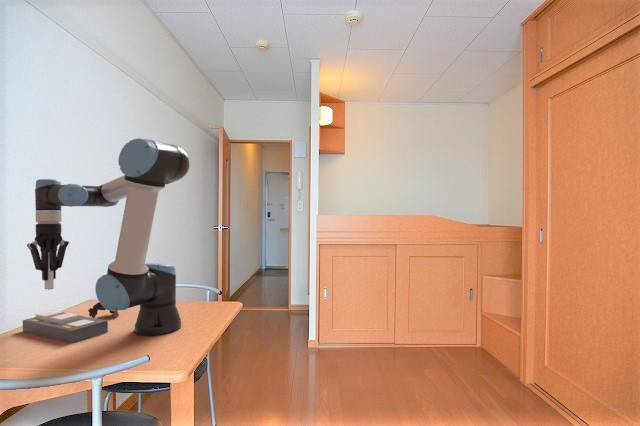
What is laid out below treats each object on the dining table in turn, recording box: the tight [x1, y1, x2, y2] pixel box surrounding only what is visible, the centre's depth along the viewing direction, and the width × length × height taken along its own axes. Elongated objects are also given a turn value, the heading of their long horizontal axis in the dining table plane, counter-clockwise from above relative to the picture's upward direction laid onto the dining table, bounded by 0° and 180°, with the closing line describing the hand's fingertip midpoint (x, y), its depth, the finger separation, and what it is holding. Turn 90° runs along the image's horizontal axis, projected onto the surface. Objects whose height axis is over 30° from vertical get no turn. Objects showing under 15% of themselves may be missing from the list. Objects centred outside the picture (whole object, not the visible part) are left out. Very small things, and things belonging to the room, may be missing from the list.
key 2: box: [66, 319, 95, 327], centre depth 128 cm, size 6×6×3 cm
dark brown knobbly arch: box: [87, 301, 120, 320], centre depth 150 cm, size 12×10×8 cm
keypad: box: [22, 312, 109, 344], centre depth 132 cm, size 28×12×4 cm, turn 64°
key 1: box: [35, 310, 65, 321], centre depth 136 cm, size 6×6×3 cm
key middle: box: [50, 312, 80, 324], centre depth 132 cm, size 6×6×3 cm
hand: (49, 288), depth 136 cm, fingers closed
